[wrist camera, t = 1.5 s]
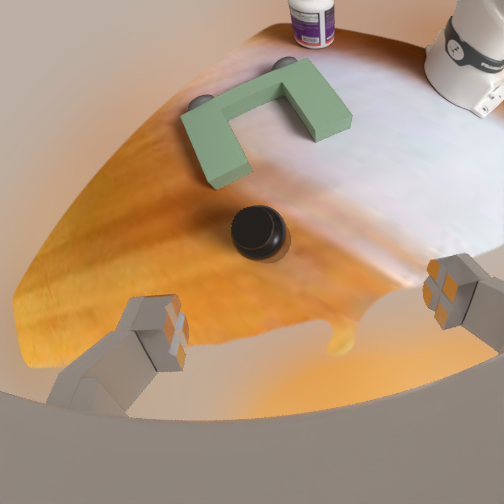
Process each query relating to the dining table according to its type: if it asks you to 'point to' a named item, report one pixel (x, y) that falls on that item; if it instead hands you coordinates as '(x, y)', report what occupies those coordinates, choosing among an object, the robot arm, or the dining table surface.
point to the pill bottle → (313, 22)
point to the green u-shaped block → (251, 96)
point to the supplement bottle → (260, 234)
